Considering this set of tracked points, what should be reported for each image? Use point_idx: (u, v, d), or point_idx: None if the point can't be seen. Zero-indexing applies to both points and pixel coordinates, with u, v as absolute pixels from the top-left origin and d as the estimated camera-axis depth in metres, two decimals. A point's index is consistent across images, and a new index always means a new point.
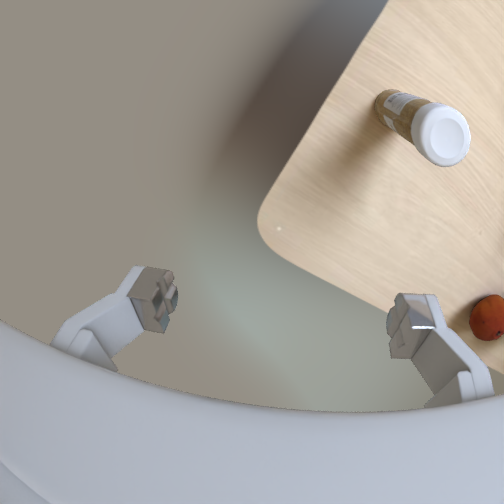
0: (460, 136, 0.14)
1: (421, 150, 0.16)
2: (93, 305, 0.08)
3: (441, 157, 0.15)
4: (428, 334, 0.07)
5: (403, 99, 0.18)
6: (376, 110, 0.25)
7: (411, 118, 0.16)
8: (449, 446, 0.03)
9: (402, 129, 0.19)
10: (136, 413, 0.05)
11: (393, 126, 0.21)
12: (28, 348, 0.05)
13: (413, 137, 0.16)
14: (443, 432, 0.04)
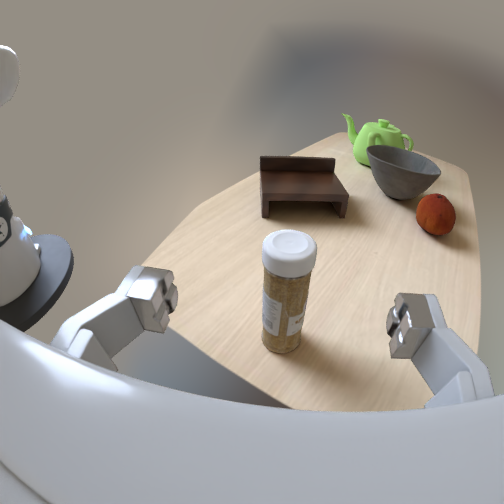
0: (286, 234, 0.24)
1: (306, 261, 0.22)
2: (93, 305, 0.08)
3: (308, 245, 0.23)
4: (428, 334, 0.07)
5: (266, 305, 0.26)
6: (284, 350, 0.29)
7: (280, 281, 0.23)
8: (449, 446, 0.03)
9: (294, 298, 0.24)
10: (136, 413, 0.05)
11: (295, 317, 0.26)
12: (28, 348, 0.05)
13: (297, 273, 0.22)
14: (443, 432, 0.04)
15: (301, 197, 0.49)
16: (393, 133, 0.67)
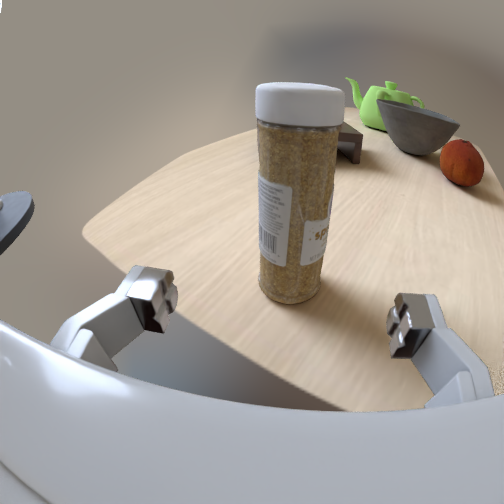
0: (293, 83, 0.13)
1: (331, 98, 0.11)
2: (93, 305, 0.08)
3: (330, 87, 0.12)
4: (428, 334, 0.07)
5: (265, 201, 0.15)
6: (296, 298, 0.18)
7: (288, 137, 0.12)
8: (449, 446, 0.03)
9: (314, 176, 0.13)
10: (136, 413, 0.05)
11: (315, 224, 0.15)
12: (28, 348, 0.05)
13: (317, 116, 0.11)
14: (443, 432, 0.04)
15: None
16: (402, 93, 0.56)
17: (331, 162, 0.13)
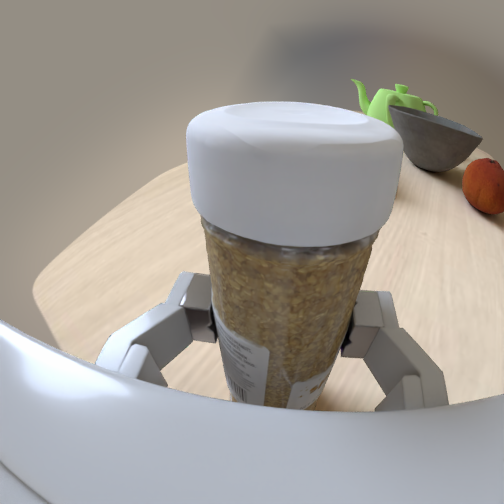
0: (280, 104, 0.06)
1: (381, 165, 0.04)
2: (142, 317, 0.08)
3: (369, 121, 0.05)
4: (377, 333, 0.08)
5: (223, 346, 0.08)
6: None
7: (259, 266, 0.05)
8: (449, 446, 0.03)
9: (316, 332, 0.06)
10: (136, 413, 0.05)
11: (312, 381, 0.08)
12: (28, 348, 0.05)
13: (338, 222, 0.04)
14: (443, 432, 0.04)
15: None
16: (415, 98, 0.49)
17: (354, 294, 0.06)
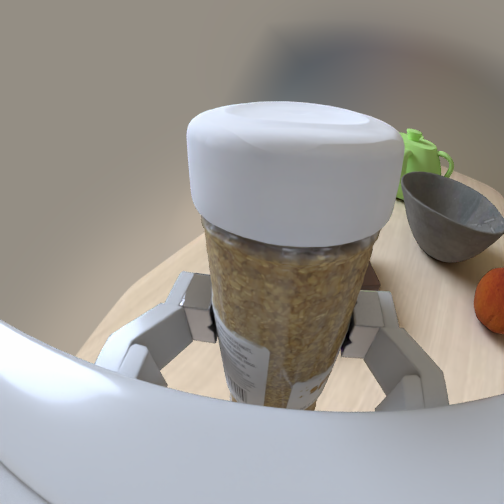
0: (281, 104, 0.06)
1: (383, 165, 0.04)
2: (142, 317, 0.08)
3: (370, 121, 0.05)
4: (377, 333, 0.08)
5: (224, 347, 0.08)
6: None
7: (260, 267, 0.05)
8: (449, 446, 0.03)
9: (316, 332, 0.06)
10: (136, 413, 0.05)
11: (312, 381, 0.08)
12: (28, 348, 0.05)
13: (339, 223, 0.04)
14: (443, 432, 0.04)
15: None
16: (429, 151, 0.44)
17: (355, 294, 0.06)
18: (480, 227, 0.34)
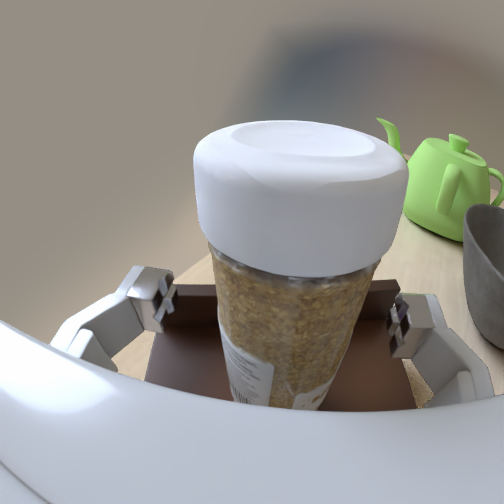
0: (287, 125, 0.06)
1: (387, 199, 0.04)
2: (93, 305, 0.08)
3: (376, 147, 0.05)
4: (428, 334, 0.07)
5: (229, 360, 0.08)
6: None
7: (267, 293, 0.05)
8: (449, 446, 0.03)
9: (319, 350, 0.06)
10: (136, 413, 0.05)
11: (314, 392, 0.08)
12: (28, 348, 0.05)
13: (343, 255, 0.04)
14: (443, 432, 0.04)
15: None
16: (482, 168, 0.27)
17: (357, 313, 0.07)
18: None
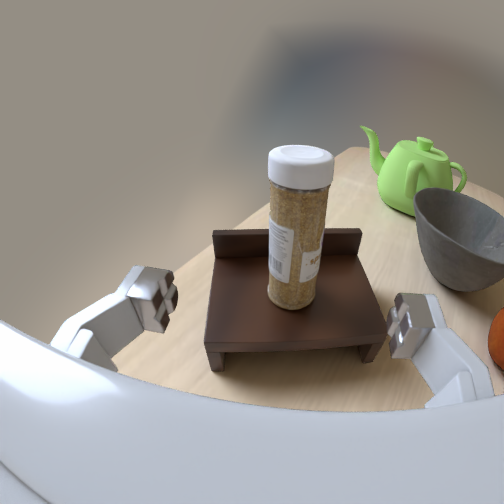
0: (296, 147, 0.19)
1: (323, 168, 0.17)
2: (93, 305, 0.08)
3: (323, 154, 0.18)
4: (428, 334, 0.07)
5: (274, 237, 0.21)
6: (296, 305, 0.24)
7: (292, 196, 0.18)
8: (449, 446, 0.03)
9: (309, 222, 0.19)
10: (136, 413, 0.05)
11: (310, 254, 0.21)
12: (28, 348, 0.05)
13: (312, 182, 0.17)
14: (443, 432, 0.04)
15: (289, 346, 0.22)
16: (442, 162, 0.40)
17: (322, 211, 0.19)
18: (496, 250, 0.30)
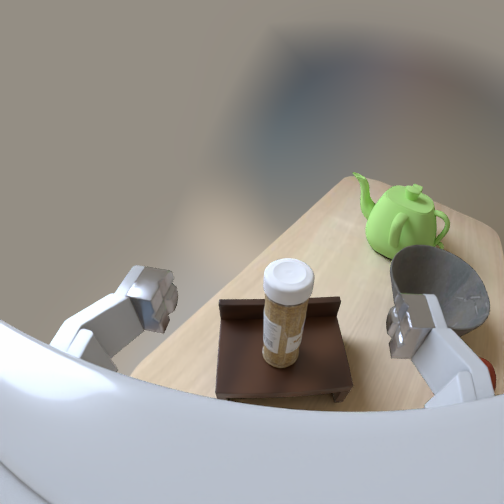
0: (286, 264, 0.26)
1: (304, 291, 0.24)
2: (93, 305, 0.08)
3: (306, 275, 0.24)
4: (428, 334, 0.07)
5: (267, 326, 0.28)
6: (283, 365, 0.31)
7: (280, 307, 0.25)
8: (449, 446, 0.03)
9: (293, 321, 0.26)
10: (136, 413, 0.05)
11: (293, 337, 0.28)
12: (28, 348, 0.05)
13: (295, 301, 0.24)
14: (443, 432, 0.04)
15: (277, 395, 0.29)
16: (426, 214, 0.47)
17: (303, 312, 0.26)
18: (466, 302, 0.37)
